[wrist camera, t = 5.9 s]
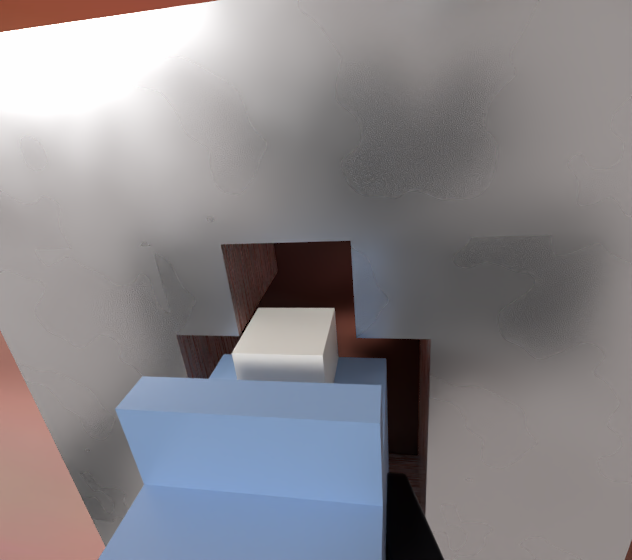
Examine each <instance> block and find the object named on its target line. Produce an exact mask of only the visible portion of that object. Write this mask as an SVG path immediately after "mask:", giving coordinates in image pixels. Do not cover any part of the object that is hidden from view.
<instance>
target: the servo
mask: <svg viewBox="0 0 632 560" xmlns="http://www.w3.org/2000/svg"><path fill="white" fill-rule="evenodd" d="M115 410H116V413H117V415H118V418H119V420H120V423H121V426H122V428H123V431H124V433H125V436H126V439H127V441H128V444H129V446H130V449H131V452H132V454H133V457H134V459H135V462H136V464H137V467H138V470H139V472H140V475H141V477H142V480H143V483H144V485H143V487H142V489H141V490H140V492H139V494H138V495H137V497H136V499H135V500H134V502H133V504H132V505H131V507H130V508H129V510H128V512H127V513H126V515H125V517H124V518H123V520H122V522H121V523H120V525H119V526H118V528H117V530H116V531H115V533H114V535H113V536H112V538H111V540H110V541H109V543H108V544H107V546H106V548H105V549H104V551H103V553H102V554H101V556H100V558H99V559H98V560H387V558H386V511H387V473H389V456H388V411H387V366H386V358H352V357H339V356H338V343H337V331H336V319H335V308H258V309H257V311H256V312H255V314H254V316H253V318H252V319H251V321H250V323H249V324H248V326H247V328H246V330H245V331H244V333H243V335H242V336H241V338H240V340H239V342H238V343H237V345H236V347H235V348H234V350H233V352H232V354H224V355H223V356H222V358H221V359H220V361H219V363H218V364H217V366H216V368H215V369H214V371H213V373H212V374H211V376H210V377H209V379H202V378H175V377H148V376H142V377H141V379H140V380H139V381H138V382H137V383H136V385H135V386H134V387H133V388H132V389H131V390H130V392H129V393H128V394H127V395H126V396H125V398H124V399H123V400H122V401H121V402H120V404H119V405H118V406H117V407H116V408H115Z"/></svg>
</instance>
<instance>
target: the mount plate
mask: <svg viewBox="0 0 632 560" xmlns="http://www.w3.org/2000/svg"><path fill="white" fill-rule="evenodd" d="M322 241H351V255H352V272H353V290H354V307H355V324H356V338H391V339H420V352H419V407H418V456H416V455H402V454H388V456H389V472H394V473H404V474H405V475H406V476H407V477H408V479H409V482H410V484H411V486H412V488H413V491H414V493H415V495H416V497H417V500H418V502H419V504H420V506H421V508H422V511H423V513H424V515H425V517H426V520H427V522H428V524H429V526H430V529H431V531H432V533H433V535H434V537H435V540H436V542H437V544H438V546H439V549H440V551H441V553H442V555H443V558H444V560H625V557H626V554H627V552H628V549H629V546H630V543H631V541H632V0H219V1H212V2H205V3H199V4H192V5H185V6H178V7H171V8H165V9H158V10H151V11H144V12H137V13H131V14H124V15H117V16H110V17H103V18H96V19H90V20H83V21H76V22H69V23H62V24H56V25H49V26H42V27H35V28H28V29H22V30H15V31H8V32H1V33H0V330H1V333H2V335H3V337H4V339H5V341H6V343H7V345H8V347H9V349H10V351H11V353H12V355H13V357H14V359H15V361H16V363H17V365H18V368H19V370H20V372H21V374H22V376H23V378H24V380H25V382H26V384H27V386H28V388H29V390H30V392H31V394H32V396H33V398H34V400H35V403H36V405H37V407H38V409H39V411H40V413H41V415H42V417H43V419H44V421H45V423H46V425H47V427H48V429H49V431H50V433H51V435H52V437H53V440H54V442H55V444H56V446H57V448H58V450H59V452H60V454H61V456H62V458H63V460H64V462H65V464H66V466H67V468H68V470H69V472H70V475H71V477H72V479H73V481H74V483H75V485H76V487H77V489H78V491H79V493H80V495H81V497H82V499H83V501H84V503H85V505H86V507H87V510H88V512H89V514H90V516H91V518H92V520H93V522H94V524H95V526H96V528H97V530H98V532H99V534H100V536H101V538H102V540H103V542H104V545H105V547H106V546H107V544H108V543H109V541H110V540H111V538H112V536H113V535H114V533H115V531H116V530H117V528H118V526H119V525H120V523H121V522H122V520H123V518H124V517H125V515H126V513H127V512H128V510H129V508H130V507H131V505H132V504H133V502H134V500H135V499H136V497H137V495H138V494H139V492H140V490H141V489H142V487H143V485H144V483H143V480H142V477H141V475H140V472H139V470H138V467H137V464H136V462H135V459H134V457H133V454H132V452H131V449H130V446H129V444H128V441H127V439H126V436H125V433H124V431H123V428H122V426H121V423H120V420H119V418H118V415H117V413H116V410H115V408H116V407H117V406H118V405H119V404H120V402H121V401H122V400H123V399H124V398H125V396H126V395H127V394H128V393H129V392H130V390H131V389H132V388H133V387H134V386H135V385H136V383H137V382H138V381H139V380H140V379H141V377H142V376H148V377H175V378H202V379H209V377H210V376H211V374H212V373H213V371H214V369H215V368H216V366H217V364H218V363H219V361H220V359H221V358H222V356H223V355H224V354H232V352H233V350H234V348H235V347H236V345H237V343H238V342H239V340H240V338H241V336H242V333H241V332H242V330H243V329H244V327H245V325H246V324H247V322H248V320H249V319H250V317H251V315H252V314H253V312H254V310H255V309H256V307H257V305H258V304H259V302H260V300H261V299H262V297H263V295H264V293H265V292H266V290H267V288H268V287H269V285H270V283H271V282H272V280H273V278H274V277H275V275H276V273H277V272H278V270H277V263H276V256H275V249H274V243H286V242H322Z"/></svg>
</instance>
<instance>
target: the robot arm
mask: <svg viewBox="0 0 632 560" xmlns="http://www.w3.org/2000/svg"><path fill="white" fill-rule="evenodd" d="M386 558H387V560H444V558H443V555H442V553H441V551H440V549H439V546H438V544H437V542H436V540H435V537H434V535H433V533H432V531H431V529H430V526H429V524H428V522H427V520H426V517H425V515H424V513H423V511H422V508H421V506H420V504H419V502H418V500H417V497H416V495H415V493H414V491H413V488H412V486H411V484H410V482H409V479H408V477H407V476H406V475H405V474H404V473H394V472H389V473H387V511H386Z"/></svg>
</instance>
